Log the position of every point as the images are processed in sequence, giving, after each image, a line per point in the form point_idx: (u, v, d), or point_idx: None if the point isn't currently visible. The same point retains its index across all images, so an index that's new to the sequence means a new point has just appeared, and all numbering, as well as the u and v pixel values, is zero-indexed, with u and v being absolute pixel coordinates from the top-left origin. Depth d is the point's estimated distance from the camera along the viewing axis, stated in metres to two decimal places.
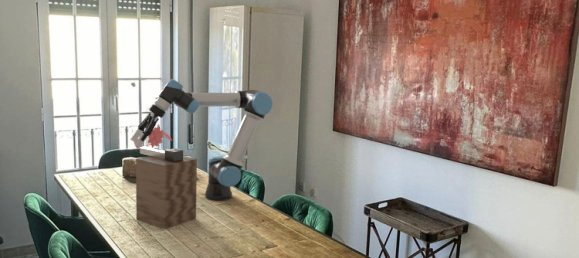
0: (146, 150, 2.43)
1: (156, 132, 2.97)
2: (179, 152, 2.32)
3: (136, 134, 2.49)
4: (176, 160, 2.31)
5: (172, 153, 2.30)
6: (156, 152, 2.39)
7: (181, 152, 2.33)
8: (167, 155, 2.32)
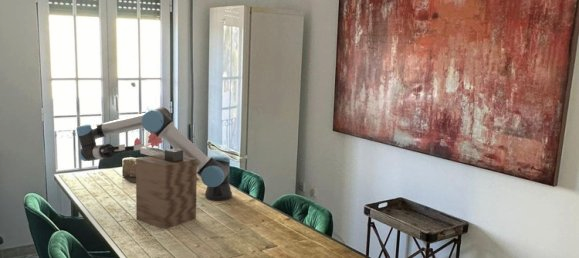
0: (146, 150, 2.43)
1: None
2: (179, 152, 2.32)
3: (137, 148, 2.61)
4: (176, 160, 2.31)
5: (172, 153, 2.30)
6: (156, 152, 2.39)
7: (181, 152, 2.33)
8: (167, 155, 2.32)
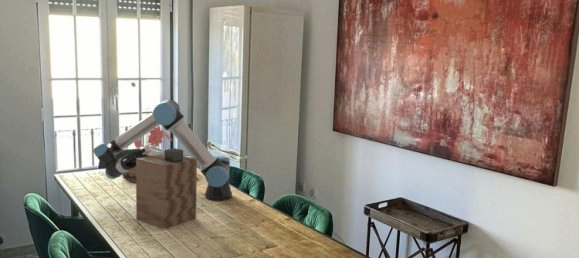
0: None
1: (156, 132, 2.97)
2: (179, 152, 2.32)
3: None
4: (176, 160, 2.31)
5: (172, 153, 2.30)
6: (156, 152, 2.39)
7: (181, 152, 2.33)
8: (167, 155, 2.32)
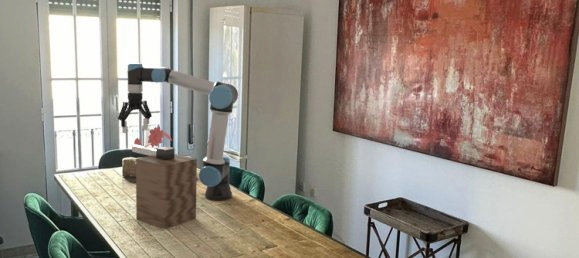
0: (138, 148, 2.46)
1: (156, 132, 2.97)
2: (170, 150, 2.36)
3: (144, 123, 2.73)
4: (167, 158, 2.35)
5: (163, 151, 2.33)
6: (148, 150, 2.42)
7: (172, 150, 2.37)
8: (158, 153, 2.35)
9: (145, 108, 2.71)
